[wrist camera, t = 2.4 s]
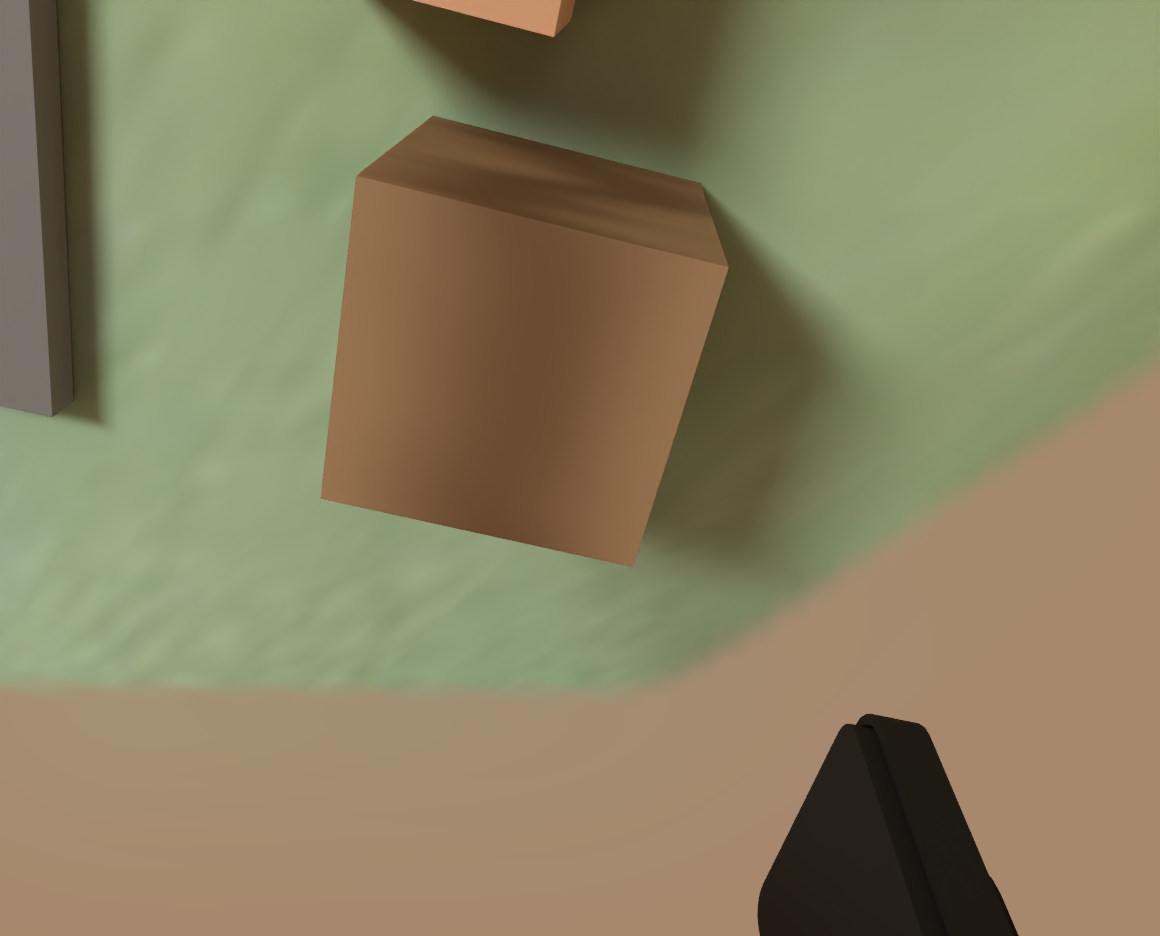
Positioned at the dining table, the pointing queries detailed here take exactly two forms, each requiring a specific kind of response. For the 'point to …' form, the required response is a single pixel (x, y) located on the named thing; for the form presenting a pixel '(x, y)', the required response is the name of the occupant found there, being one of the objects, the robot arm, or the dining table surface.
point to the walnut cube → (517, 338)
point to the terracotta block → (516, 12)
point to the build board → (32, 214)
